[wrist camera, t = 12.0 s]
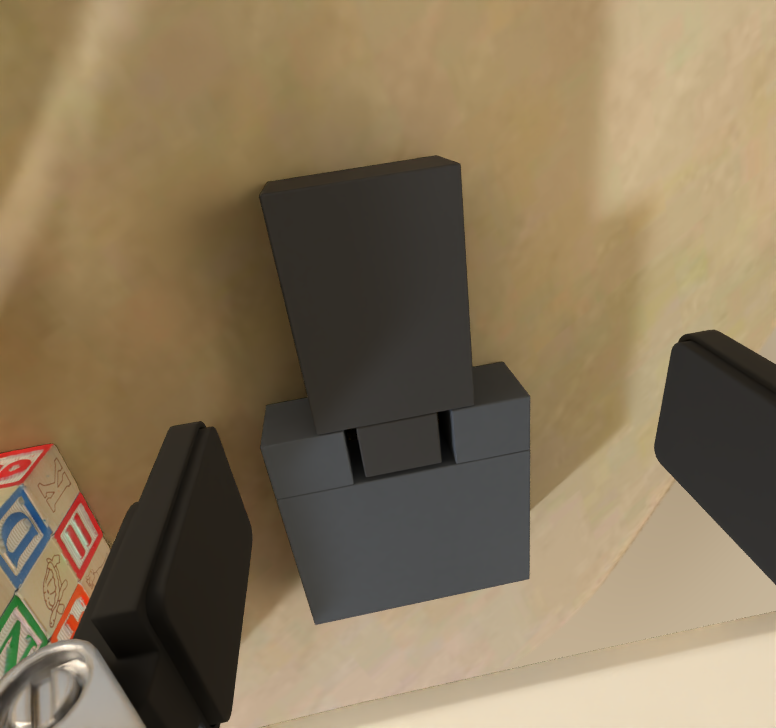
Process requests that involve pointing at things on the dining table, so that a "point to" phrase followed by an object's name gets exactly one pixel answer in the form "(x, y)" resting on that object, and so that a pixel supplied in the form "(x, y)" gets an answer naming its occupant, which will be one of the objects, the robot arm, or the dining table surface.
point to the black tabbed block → (377, 301)
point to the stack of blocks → (43, 552)
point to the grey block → (406, 505)
